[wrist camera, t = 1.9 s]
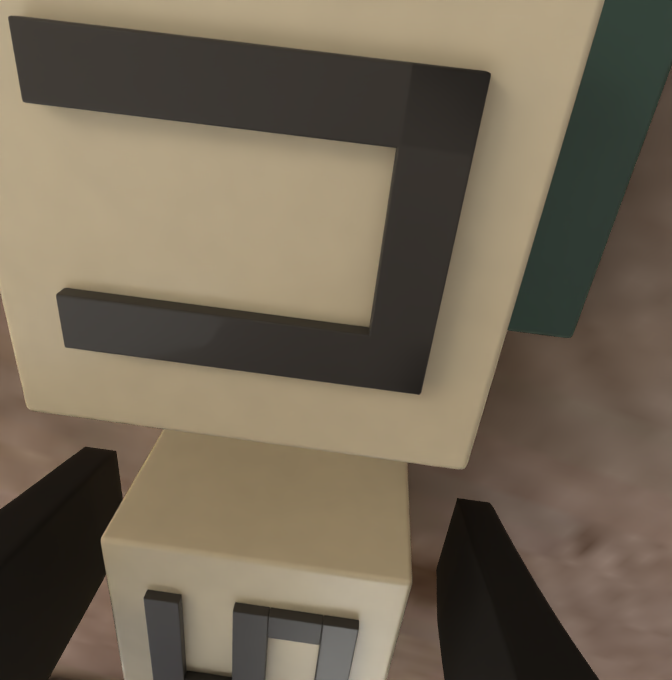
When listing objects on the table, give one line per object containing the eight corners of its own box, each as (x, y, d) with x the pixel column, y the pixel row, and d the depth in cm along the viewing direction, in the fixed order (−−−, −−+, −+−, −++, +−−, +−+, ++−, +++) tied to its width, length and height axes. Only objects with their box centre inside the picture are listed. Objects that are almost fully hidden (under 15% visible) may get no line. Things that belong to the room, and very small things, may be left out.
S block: (376, 541, 13) (370, 753, 9) (201, 516, 13) (122, 715, 9) (405, 396, 11) (414, 594, 7) (196, 369, 11) (92, 548, 7)
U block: (434, 289, 9) (468, 486, 5) (176, 256, 9) (14, 422, 5) (500, -26, 7) (650, -107, 3) (161, -64, 7) (-136, -192, 3)
